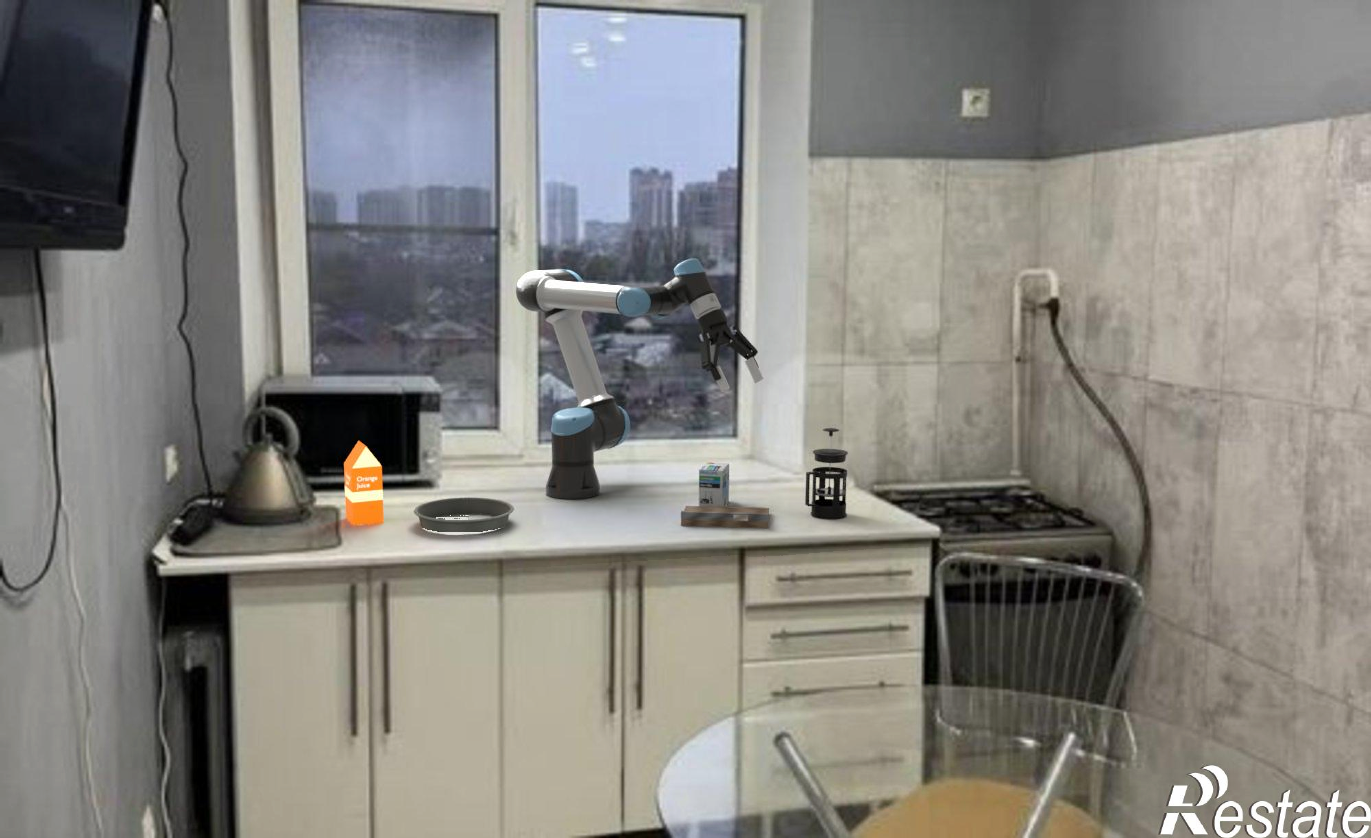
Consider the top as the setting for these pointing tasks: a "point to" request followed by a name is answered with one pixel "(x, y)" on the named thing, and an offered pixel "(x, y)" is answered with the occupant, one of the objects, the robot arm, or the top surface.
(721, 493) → the light bulb box
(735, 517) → the shelf board
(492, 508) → the cake pan
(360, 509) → the orange juice
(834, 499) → the french press
